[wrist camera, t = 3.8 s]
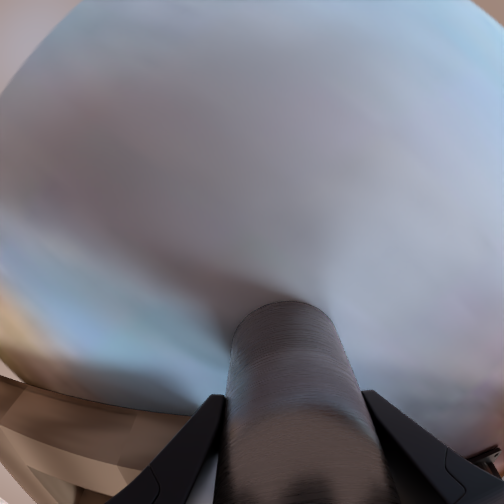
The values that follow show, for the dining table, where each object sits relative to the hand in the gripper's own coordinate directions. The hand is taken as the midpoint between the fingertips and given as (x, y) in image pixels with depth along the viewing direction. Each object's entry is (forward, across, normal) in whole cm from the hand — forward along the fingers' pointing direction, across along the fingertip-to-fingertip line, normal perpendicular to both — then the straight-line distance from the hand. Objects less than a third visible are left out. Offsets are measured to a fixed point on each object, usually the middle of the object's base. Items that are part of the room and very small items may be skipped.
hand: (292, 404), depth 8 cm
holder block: (+3, +10, +11) cm, 15 cm away
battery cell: (+3, 0, 0) cm, 3 cm away
